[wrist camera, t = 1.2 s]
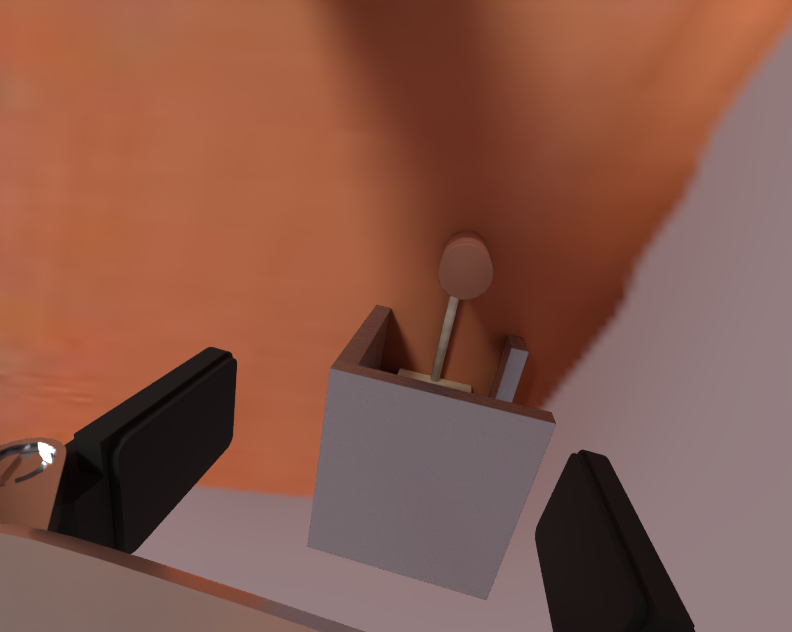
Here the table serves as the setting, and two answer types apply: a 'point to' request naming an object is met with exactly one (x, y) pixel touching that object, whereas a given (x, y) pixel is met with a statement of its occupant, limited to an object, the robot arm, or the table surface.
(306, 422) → the table surface
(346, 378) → the block
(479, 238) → the corded block
